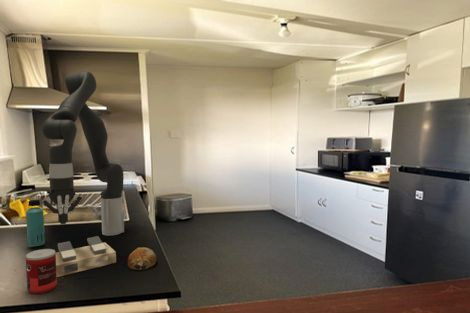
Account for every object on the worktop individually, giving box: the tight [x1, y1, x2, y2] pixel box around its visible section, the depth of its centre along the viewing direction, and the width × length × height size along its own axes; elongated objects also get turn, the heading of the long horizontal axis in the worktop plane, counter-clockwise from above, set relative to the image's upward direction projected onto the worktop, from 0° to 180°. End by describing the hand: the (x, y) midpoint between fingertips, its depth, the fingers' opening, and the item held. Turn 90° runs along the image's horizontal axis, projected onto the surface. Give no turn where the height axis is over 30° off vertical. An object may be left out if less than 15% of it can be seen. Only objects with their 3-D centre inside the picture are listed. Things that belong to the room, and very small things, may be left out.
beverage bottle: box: [25, 199, 46, 247], centre depth 132 cm, size 6×7×20 cm
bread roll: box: [127, 247, 157, 271], centre depth 116 cm, size 10×10×8 cm
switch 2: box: [86, 235, 106, 254], centre depth 119 cm, size 4×10×2 cm, turn 38°
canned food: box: [25, 248, 58, 295], centre depth 98 cm, size 8×8×11 cm
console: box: [55, 242, 117, 278], centre depth 116 cm, size 20×13×4 cm, turn 128°
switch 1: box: [57, 240, 76, 261], centre depth 113 cm, size 4×10×2 cm, turn 38°
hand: (63, 223), depth 115 cm, fingers closed
